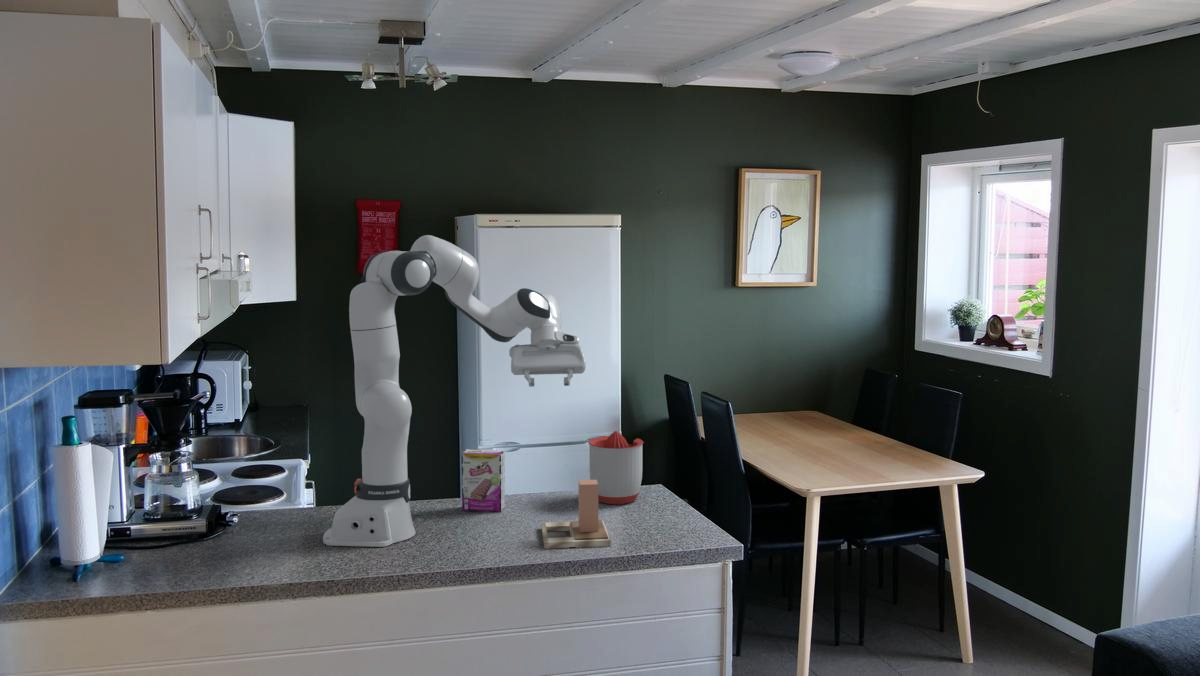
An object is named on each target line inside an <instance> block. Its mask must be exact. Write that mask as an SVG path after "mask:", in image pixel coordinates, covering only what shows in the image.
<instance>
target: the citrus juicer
mask: <svg viewBox="0 0 1200 676" xmlns="http://www.w3.org/2000/svg"><path fill="white" fill-rule="evenodd" d="M643 444H644V441H643V440H642V439H641V438H638V437H637V438H635V439H634V440H633V441H632V444H629V443H628V441H627V440H626V438H625V437H624V436H623V434H622V433H620V432H619V431H617V430H615V431H612V433H611V434H610V435H605V436H598V437H594V438H590V440H589V441H588V445H589V480H597V482H598V502H600V503H604V504H610V505H617V504H622V505H625V504H630V503H632V502H635V501H636V500H637V498H638V496H639V493H640V489H641V484H642V480H643Z"/></svg>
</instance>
